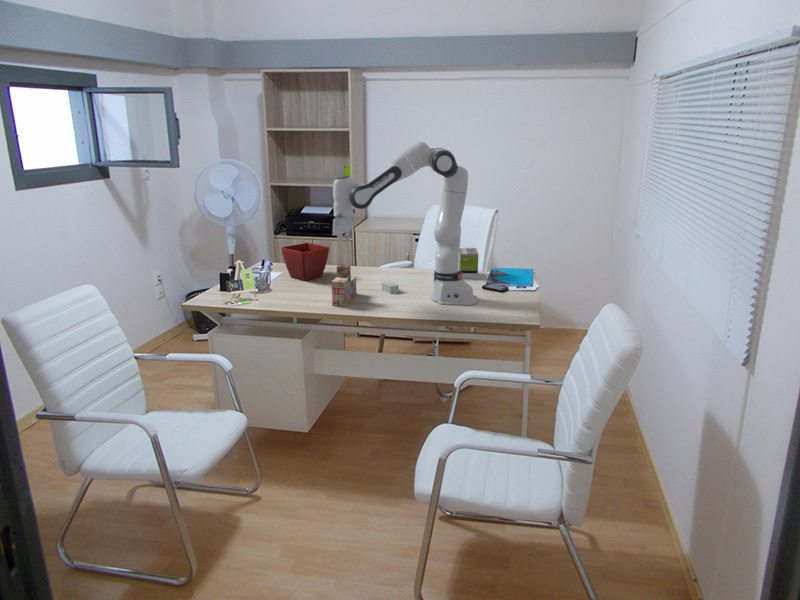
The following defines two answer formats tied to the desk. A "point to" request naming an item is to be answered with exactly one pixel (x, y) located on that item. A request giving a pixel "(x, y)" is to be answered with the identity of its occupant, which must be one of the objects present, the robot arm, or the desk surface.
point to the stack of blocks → (343, 290)
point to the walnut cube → (343, 271)
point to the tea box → (468, 263)
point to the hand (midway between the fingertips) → (344, 241)
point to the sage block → (390, 287)
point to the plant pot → (305, 260)
